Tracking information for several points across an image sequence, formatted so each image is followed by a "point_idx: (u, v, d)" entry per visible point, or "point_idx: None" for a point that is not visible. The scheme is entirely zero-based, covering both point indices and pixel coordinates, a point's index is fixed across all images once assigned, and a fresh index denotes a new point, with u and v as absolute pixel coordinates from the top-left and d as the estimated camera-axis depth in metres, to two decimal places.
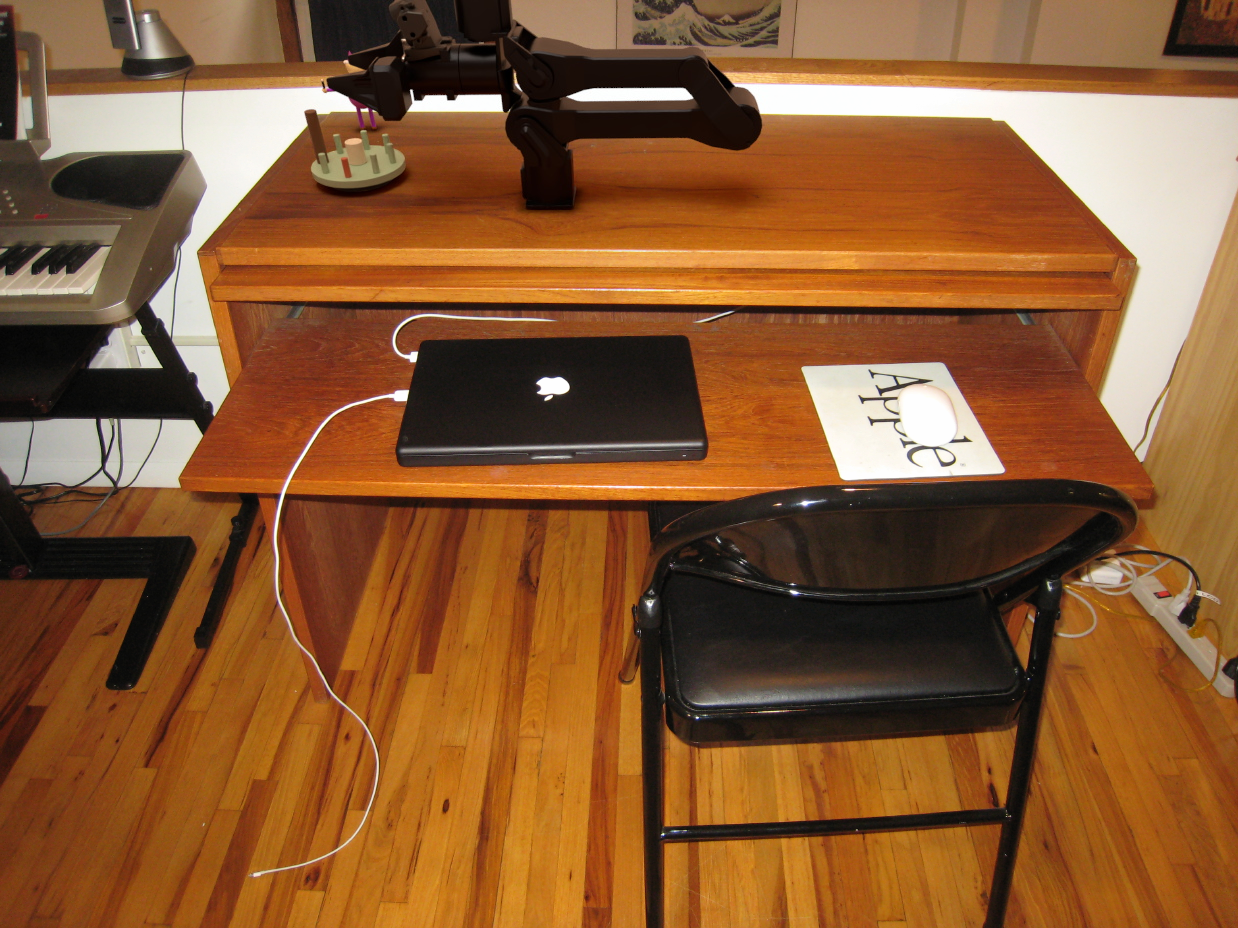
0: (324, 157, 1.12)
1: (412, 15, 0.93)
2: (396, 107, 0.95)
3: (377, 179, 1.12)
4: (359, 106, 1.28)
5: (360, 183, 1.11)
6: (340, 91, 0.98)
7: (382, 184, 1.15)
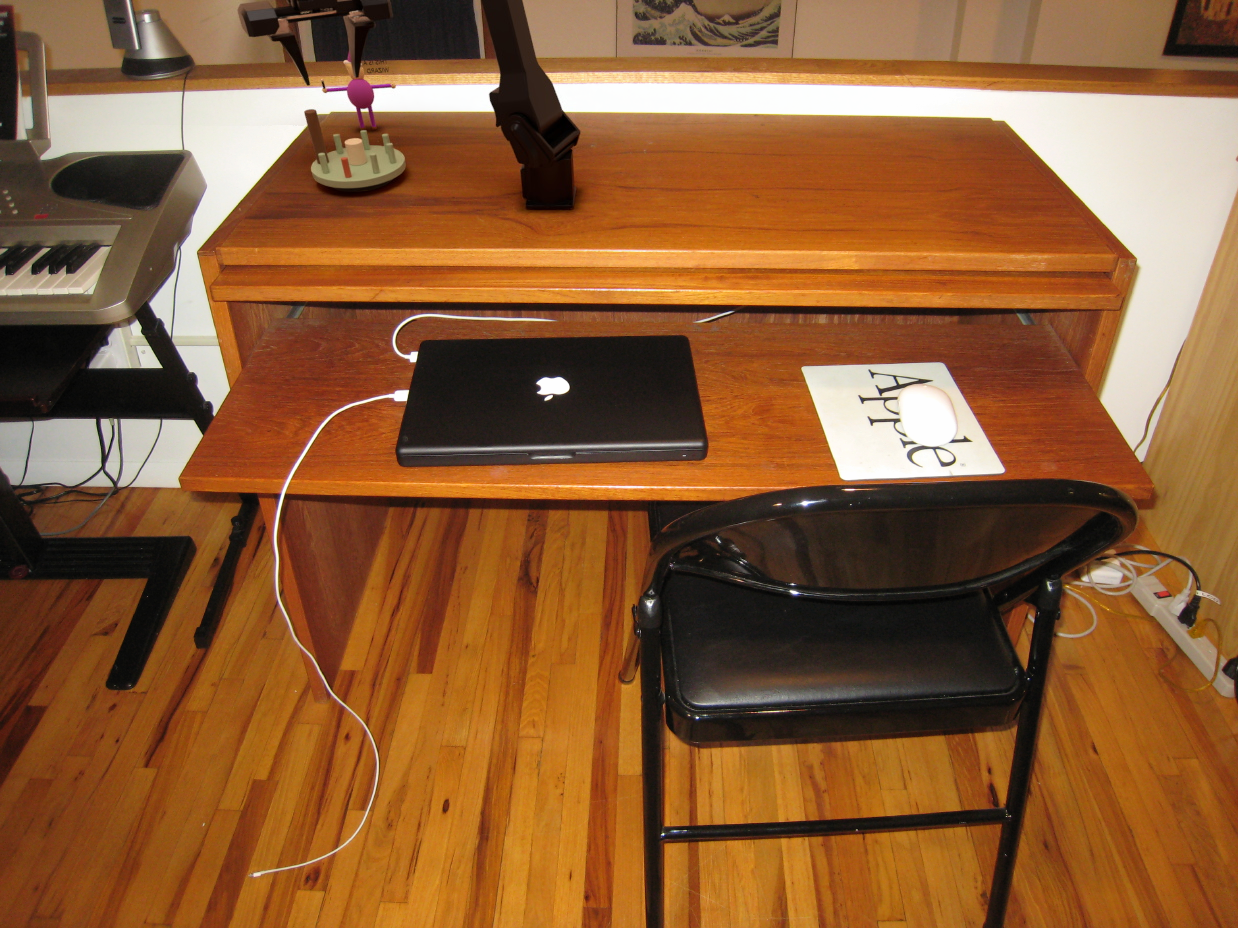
0: (324, 157, 1.12)
1: None
2: (242, 18, 1.02)
3: (377, 179, 1.12)
4: (359, 106, 1.28)
5: (360, 183, 1.11)
6: (301, 74, 1.10)
7: (382, 184, 1.15)
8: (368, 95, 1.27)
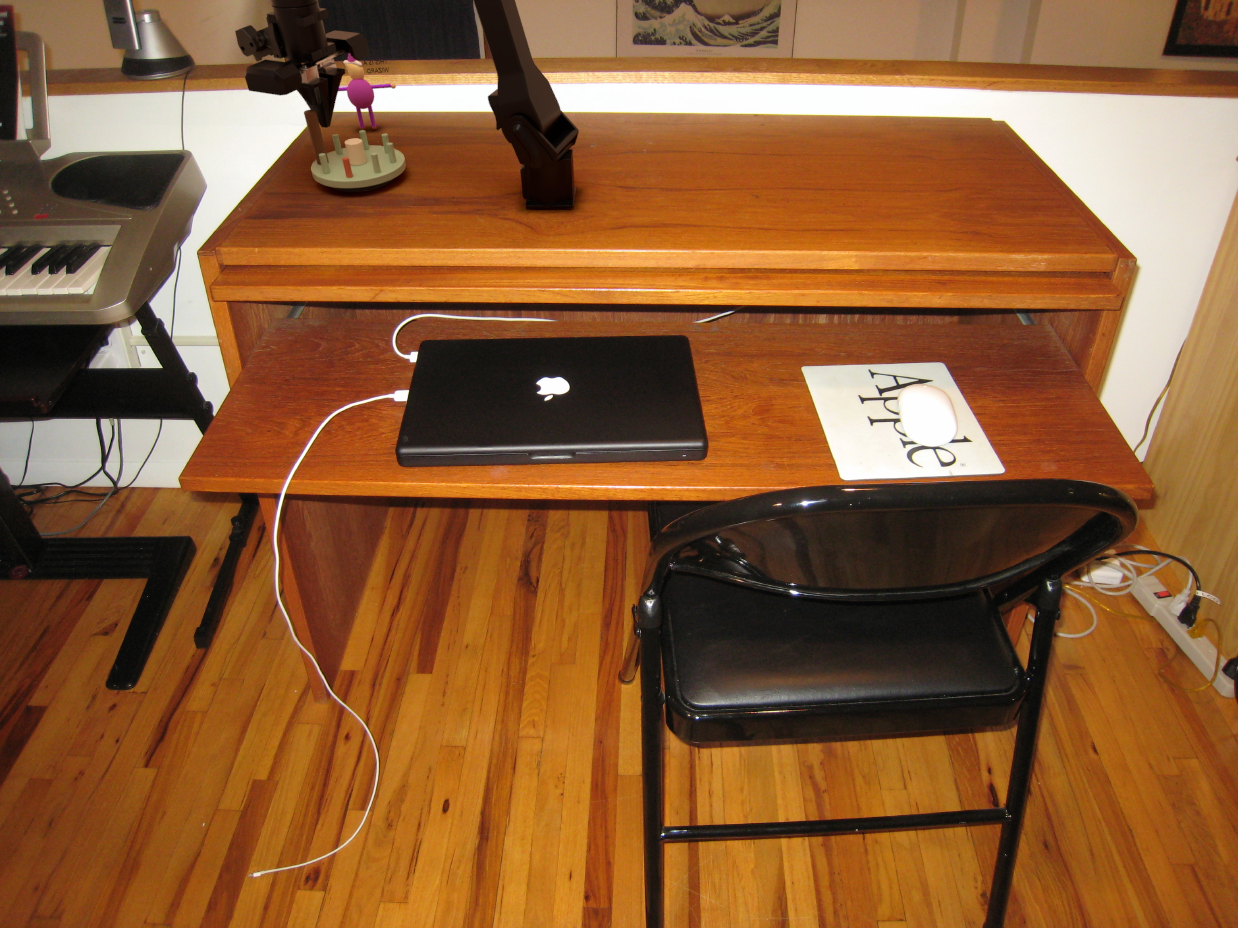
0: (325, 157, 1.11)
1: (238, 40, 1.06)
2: (268, 79, 1.02)
3: (378, 179, 1.12)
4: (359, 106, 1.28)
5: (362, 183, 1.11)
6: (324, 117, 1.13)
7: (382, 184, 1.15)
8: (368, 95, 1.27)
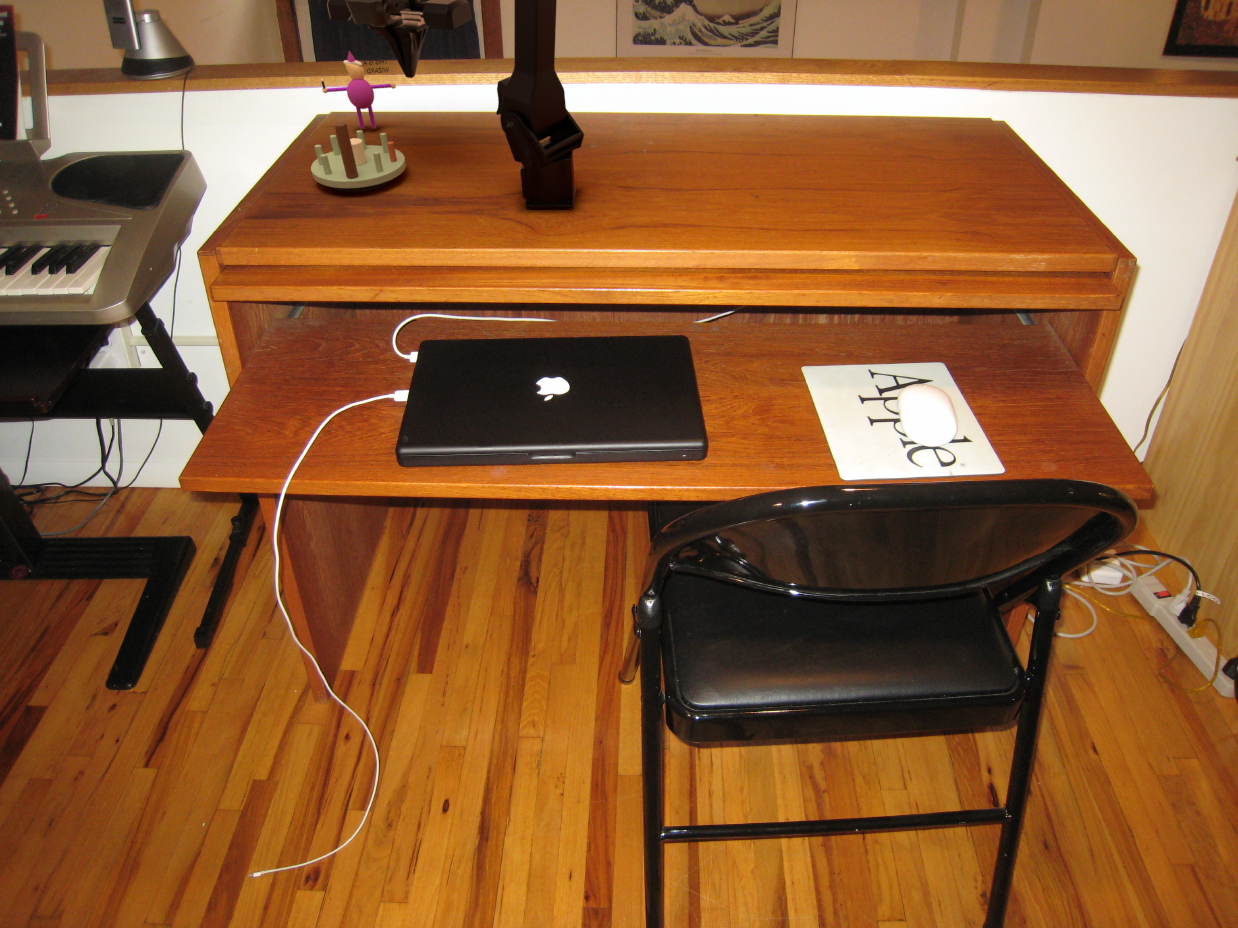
0: None
1: None
2: (465, 6, 1.06)
3: None
4: (359, 106, 1.28)
5: None
6: (416, 64, 1.13)
7: (382, 184, 1.15)
8: (368, 95, 1.27)
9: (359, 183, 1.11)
